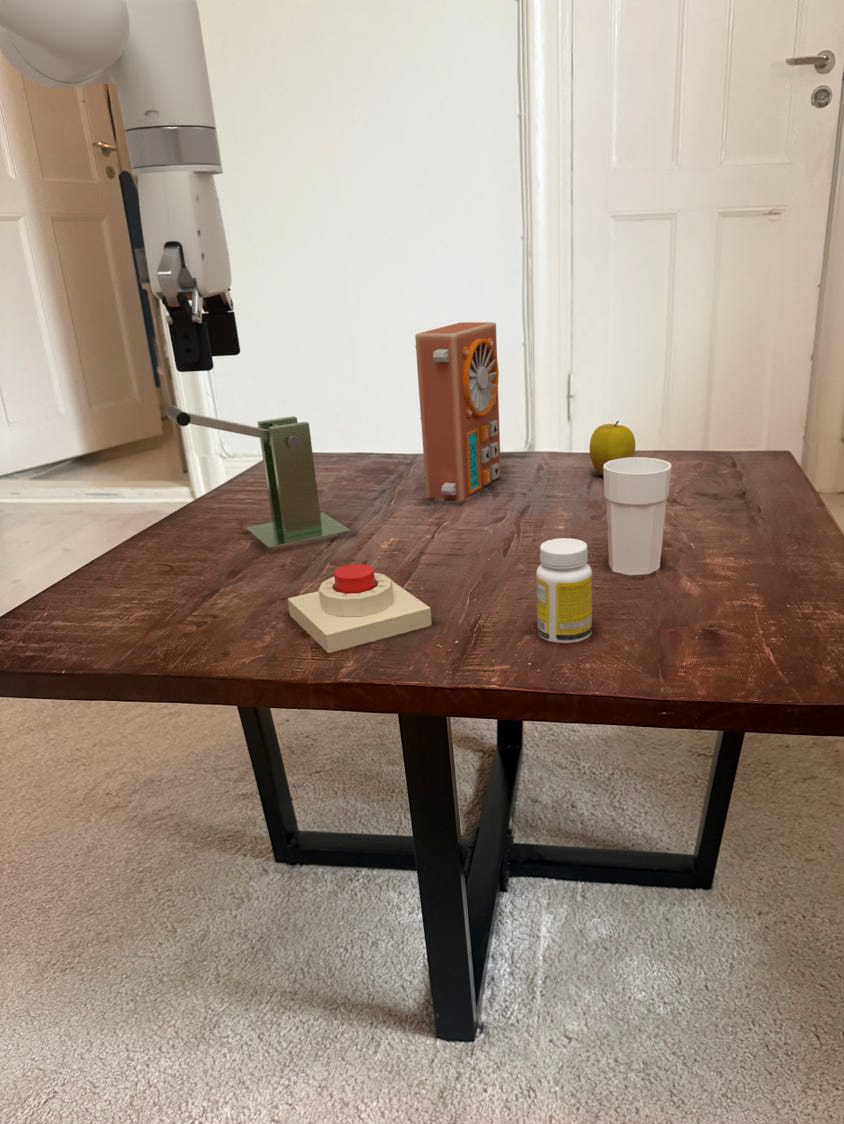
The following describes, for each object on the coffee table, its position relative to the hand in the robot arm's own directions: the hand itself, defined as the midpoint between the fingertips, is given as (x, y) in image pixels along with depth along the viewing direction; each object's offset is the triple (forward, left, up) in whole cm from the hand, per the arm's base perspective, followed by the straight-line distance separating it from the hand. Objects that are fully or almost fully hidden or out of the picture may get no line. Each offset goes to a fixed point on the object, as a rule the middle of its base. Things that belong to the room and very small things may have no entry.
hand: (210, 362), depth 84 cm
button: (+6, -16, -19) cm, 26 cm away
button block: (+6, -16, -23) cm, 28 cm away
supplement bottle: (+20, -29, -23) cm, 42 cm away
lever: (+4, +12, -10) cm, 16 cm away
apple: (+56, +11, -23) cm, 61 cm away
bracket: (+10, +12, -23) cm, 27 cm away
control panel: (+35, +16, -23) cm, 44 cm away
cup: (+35, -20, -23) cm, 46 cm away
